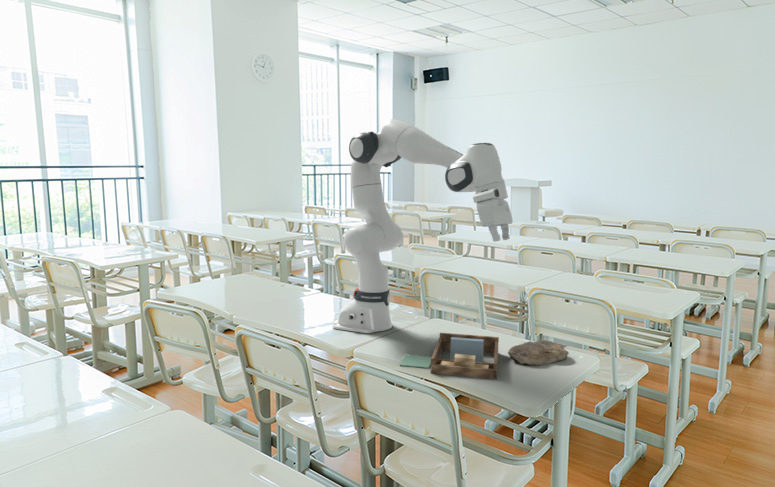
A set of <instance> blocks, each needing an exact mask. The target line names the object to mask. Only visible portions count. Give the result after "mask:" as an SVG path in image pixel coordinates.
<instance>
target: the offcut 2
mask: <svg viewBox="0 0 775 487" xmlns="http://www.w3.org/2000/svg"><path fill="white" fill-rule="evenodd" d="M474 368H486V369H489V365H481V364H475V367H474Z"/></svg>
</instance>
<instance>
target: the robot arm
mask: <svg viewBox="0 0 775 487" xmlns="http://www.w3.org/2000/svg"><path fill="white" fill-rule="evenodd" d="M348 151H349V155H350V157H351V159H352V162H351V164H350V183H351V192H352V193H351V194H352V199H353V205H354V206H353V207H354V210H355V211H356V212H357V213H359V214H360V215H361V216H362V218H363V219H364V221H365V224H359V225H355V226H353V227H350V228H348V229H347V230H346V232H345V233H344V236H343V245H344V247H345V249H346V251H347V252H348V253H349V254H350V255H351V256H352V257H353V259H354V260H355V264H356V267H357V270H358V272H357V273H358V287H356V288H355V290H353V292H352V296H353V299H352V300H350V301H349V302H347V303H346V304H345V305H343V307H341V309H340V311H339V314H338V318H336V319H335V320H334V321H333V322H332V328H333V329H335V330H342V331H347V332H348V331H350V332H353V333H354V332H355V333H356V332H357V333H361V334H362V333H363V334H372V333H376V332H383V331H387V330H390V329H392V328H393V323H392V319H391V314H390V302H391V299H390V298H391V292H390V289H389V269H388V267H387V266H386V265H385V264H384V263H382V261H381V257H380V253H384V252H389V251H392V250H394V249H396V248H397V247H399V246H400V245H401V243H402V241H403V231H402V228H400V227H401V226H399V225H398V224H396V223H395V222H394V220H393V218H392V217H391V216H390V213H389V212H388V210H387V207H386V204H385V199H384V192H383V186H382V180H381V169H382V167H385V168H388V167H390V166H391V165H393V164H394V163H396V162H398V161H400V159H401V158H402V159H404V160H406V161H408V162H410V163H413V164H418V165H419V164H421V165H422V164H423V165H436V166H441V167H445V168H446V171H445V174H444V178H445V180H444V181H445V184H446V186H447V187H448V189H449V190H450V191H452V192H454V193H475V194H474V195H472V200H473V203H475V204H476V209H477V215H478V218H479V221H480V224H481V226H482V227H483V228H488V230H489V233H490V235H491V236H492V238H491V239H492V241H493V242H499V241H501V237H502V240H503V241H507V240H508V241H509V240H510V234H509V233H510V226H509V225H511V224H512V225H513V216H512V213H511V208H510V205H509V202H508V201H507V200H505V199H507V198H509V196H508V193H507V192H508V191H507V187H506V183H505V178H504V177H503V175H502V164H501V160H500V157H499V153H498V150H497V149H496V147H495V145H494V144H493V143H491V142H479V143H472V144H470V145H469V146H468V148H467V149H466V151H465V153H464V154H462V153H461V152H460V151H458V150H456V149H453V148H452V147H449V146H448V145H445V144H444V143H442V142H440V141H439V140H437V139H435V137H434V138H433V137H432V136H431V135H429V134H427V133H426V132H425V131H423V130H421V129H420V128H418V127H417V126H414V125H412V124H411V123H409V122H407V121H403V120H401V119H397V118H392V119H390V120H388V121H386V122H385V123H384V124H383V125H382V128H381V130H380V131H377V132H374V131H366V132H365V131H364V132H360V133H358V134H356V135H354V136H352V137H351V139H350V142H349V146H348ZM498 227H500V230H501V233H502V234H501V236H500V234H499V231H498Z"/></svg>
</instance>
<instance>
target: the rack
mask: <svg viewBox="0 0 775 487" xmlns="http://www.w3.org/2000/svg"><path fill="white" fill-rule="evenodd" d="M451 337H457V338H470V339H483V340H484V345H483V354H489V355H490V354H491V355H494V356H493V362H484V361H483V362H475V364H481V365H489V369H486V368H474V367H467V366H451V365H440V364H441V361H450V362H454V360H450V359H448V358H447V359H445V358H441V355H442V353H443V351H450V350H451ZM499 339H500V338H499V336H490V335H489V336H488V335H476V334H475V335H474V334H462V333H448V332H447V333H446V332H440V333H439V338H438V340H437V342H436V346H435V348H434V350H433V353H432V356H430V357H431V365H430V374H437V375H445V376H446V375H448V376H459V377H468V378H469V377H471V378H483V379H490V380H491V379H492V380H497V376H498V364H499V363H498V361H499V341H500V340H499Z"/></svg>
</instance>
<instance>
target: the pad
mask: <svg viewBox="0 0 775 487" xmlns="http://www.w3.org/2000/svg"><path fill="white" fill-rule="evenodd" d="M431 357H432V356H425V355H414V354H413V355H412V354H404V356H403V358H402V360H401V362H400V364H399V367H406V368H407V367H408V368H409V367H410V368H418V367H424V368H423V369H430V368H431Z"/></svg>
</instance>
